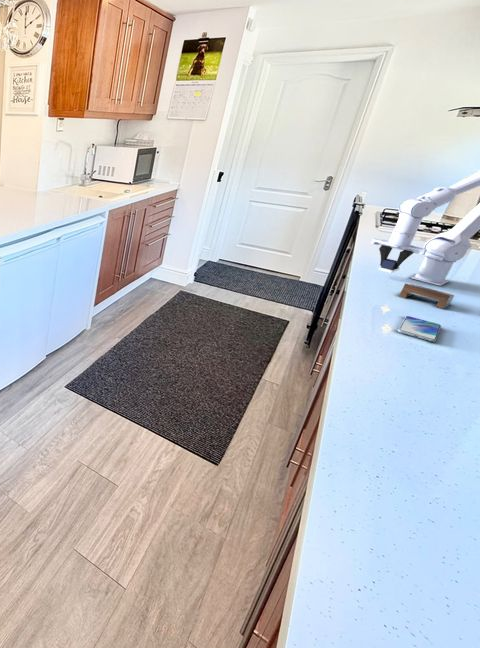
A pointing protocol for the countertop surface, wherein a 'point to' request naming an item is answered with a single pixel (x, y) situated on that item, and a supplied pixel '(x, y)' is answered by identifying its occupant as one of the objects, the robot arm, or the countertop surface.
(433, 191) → the robot arm
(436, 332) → the smartphone
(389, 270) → the trainer
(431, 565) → the countertop surface
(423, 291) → the shoe shelf
